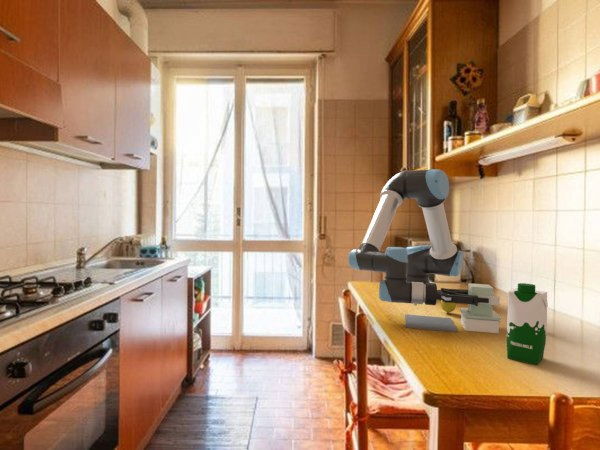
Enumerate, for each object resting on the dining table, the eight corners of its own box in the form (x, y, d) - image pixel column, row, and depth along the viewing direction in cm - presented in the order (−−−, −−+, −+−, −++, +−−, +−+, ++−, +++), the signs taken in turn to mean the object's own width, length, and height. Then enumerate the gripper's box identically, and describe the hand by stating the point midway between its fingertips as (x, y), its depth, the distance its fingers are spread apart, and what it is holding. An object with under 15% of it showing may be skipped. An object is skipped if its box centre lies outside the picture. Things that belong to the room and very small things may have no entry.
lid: (459, 310, 141) (460, 281, 140) (493, 312, 138) (494, 284, 138) (464, 317, 130) (465, 287, 130) (501, 320, 127) (502, 289, 127)
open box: (460, 322, 140) (461, 311, 140) (491, 325, 138) (492, 313, 138) (465, 330, 130) (466, 318, 130) (498, 333, 128) (499, 321, 128)
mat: (405, 315, 148) (405, 314, 148) (450, 319, 144) (450, 318, 144) (406, 327, 132) (406, 325, 132) (457, 332, 128) (457, 330, 128)
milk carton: (502, 358, 105) (505, 283, 105) (511, 350, 112) (514, 279, 112) (540, 367, 100) (543, 288, 99) (547, 358, 106) (551, 283, 106)
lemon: (457, 315, 150) (457, 294, 150) (441, 314, 151) (442, 293, 151) (454, 312, 155) (455, 291, 155) (439, 311, 156) (440, 291, 156)
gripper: (422, 298, 148) (489, 303, 142) (425, 310, 129) (503, 317, 123) (422, 278, 147) (490, 282, 142) (426, 287, 128) (504, 292, 123)
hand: (496, 298), depth 133 cm, fingers closed on lid, 7 cm apart
